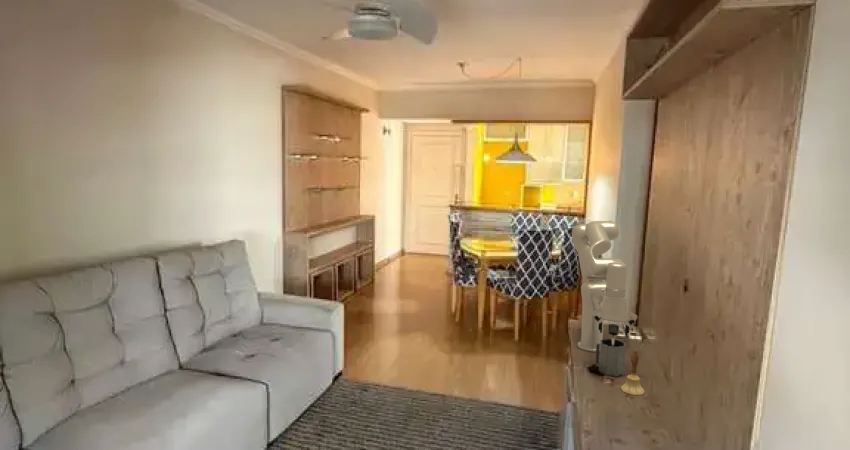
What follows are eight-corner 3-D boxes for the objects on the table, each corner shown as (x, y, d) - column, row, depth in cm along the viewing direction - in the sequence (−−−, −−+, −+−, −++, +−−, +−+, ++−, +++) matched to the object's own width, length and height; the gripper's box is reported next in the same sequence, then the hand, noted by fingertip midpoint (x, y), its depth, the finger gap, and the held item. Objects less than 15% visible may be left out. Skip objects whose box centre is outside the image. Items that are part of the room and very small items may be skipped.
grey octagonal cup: (595, 365, 212) (597, 337, 211) (624, 368, 208) (625, 340, 207) (595, 374, 203) (596, 345, 202) (624, 378, 199) (626, 348, 198)
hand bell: (643, 387, 191) (645, 347, 189) (645, 396, 184) (647, 355, 182) (620, 384, 194) (622, 345, 192) (621, 393, 186) (623, 352, 184)
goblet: (603, 359, 209) (605, 321, 207) (620, 362, 207) (622, 323, 205) (603, 365, 203) (605, 326, 201) (620, 368, 201) (622, 328, 199)
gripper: (592, 292, 201) (590, 333, 203) (639, 297, 195) (636, 339, 197) (593, 288, 208) (591, 328, 210) (638, 292, 202) (635, 333, 204)
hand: (613, 333), depth 203 cm, fingers open, 9 cm apart
